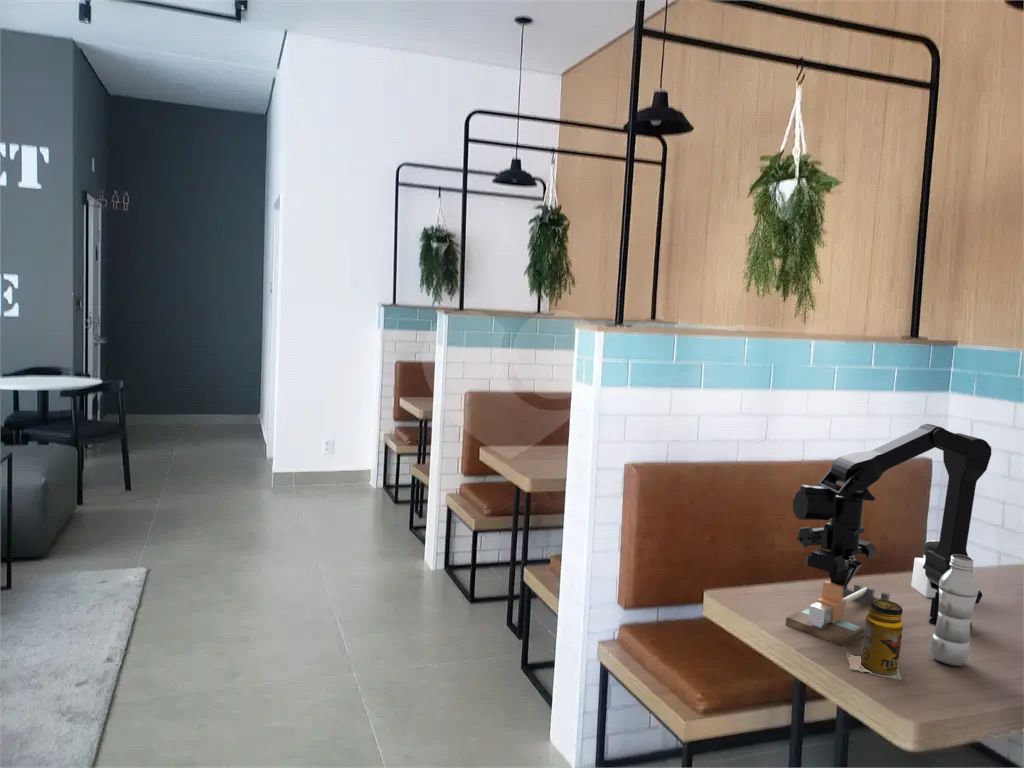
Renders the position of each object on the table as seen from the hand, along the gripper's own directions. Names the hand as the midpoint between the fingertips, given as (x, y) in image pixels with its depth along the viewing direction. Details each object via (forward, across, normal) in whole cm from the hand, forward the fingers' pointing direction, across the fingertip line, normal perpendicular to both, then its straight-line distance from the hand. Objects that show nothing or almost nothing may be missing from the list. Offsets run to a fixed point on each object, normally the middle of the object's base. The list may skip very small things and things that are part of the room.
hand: (836, 595), depth 160 cm
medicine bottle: (+6, -38, +6) cm, 39 cm away
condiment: (+6, +12, +13) cm, 19 cm away
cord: (+3, -4, 0) cm, 5 cm away
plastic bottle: (+6, -2, +21) cm, 22 cm away
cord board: (+6, -3, 0) cm, 7 cm away
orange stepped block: (+4, +2, 0) cm, 5 cm away
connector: (+5, +7, 0) cm, 8 cm away
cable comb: (+5, -13, 0) cm, 14 cm away
